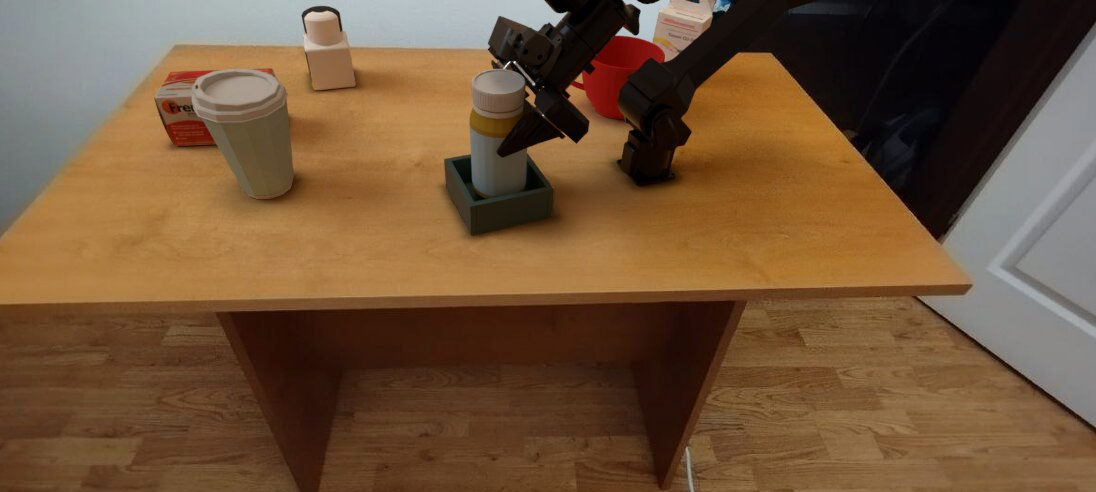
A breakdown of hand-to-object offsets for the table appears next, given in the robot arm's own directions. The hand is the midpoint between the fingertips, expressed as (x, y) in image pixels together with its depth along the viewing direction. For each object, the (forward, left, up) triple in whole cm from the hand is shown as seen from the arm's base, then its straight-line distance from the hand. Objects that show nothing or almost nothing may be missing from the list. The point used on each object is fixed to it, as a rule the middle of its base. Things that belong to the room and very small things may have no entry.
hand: (488, 140), depth 70 cm
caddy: (-1, 0, -10) cm, 10 cm away
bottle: (-1, 0, -8) cm, 8 cm away
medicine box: (+31, -30, -10) cm, 44 cm away
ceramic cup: (-27, -19, -10) cm, 35 cm away
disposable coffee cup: (+27, -13, -10) cm, 31 cm away
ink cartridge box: (-45, -26, -10) cm, 53 cm away
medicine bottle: (+14, -43, -10) cm, 46 cm away
